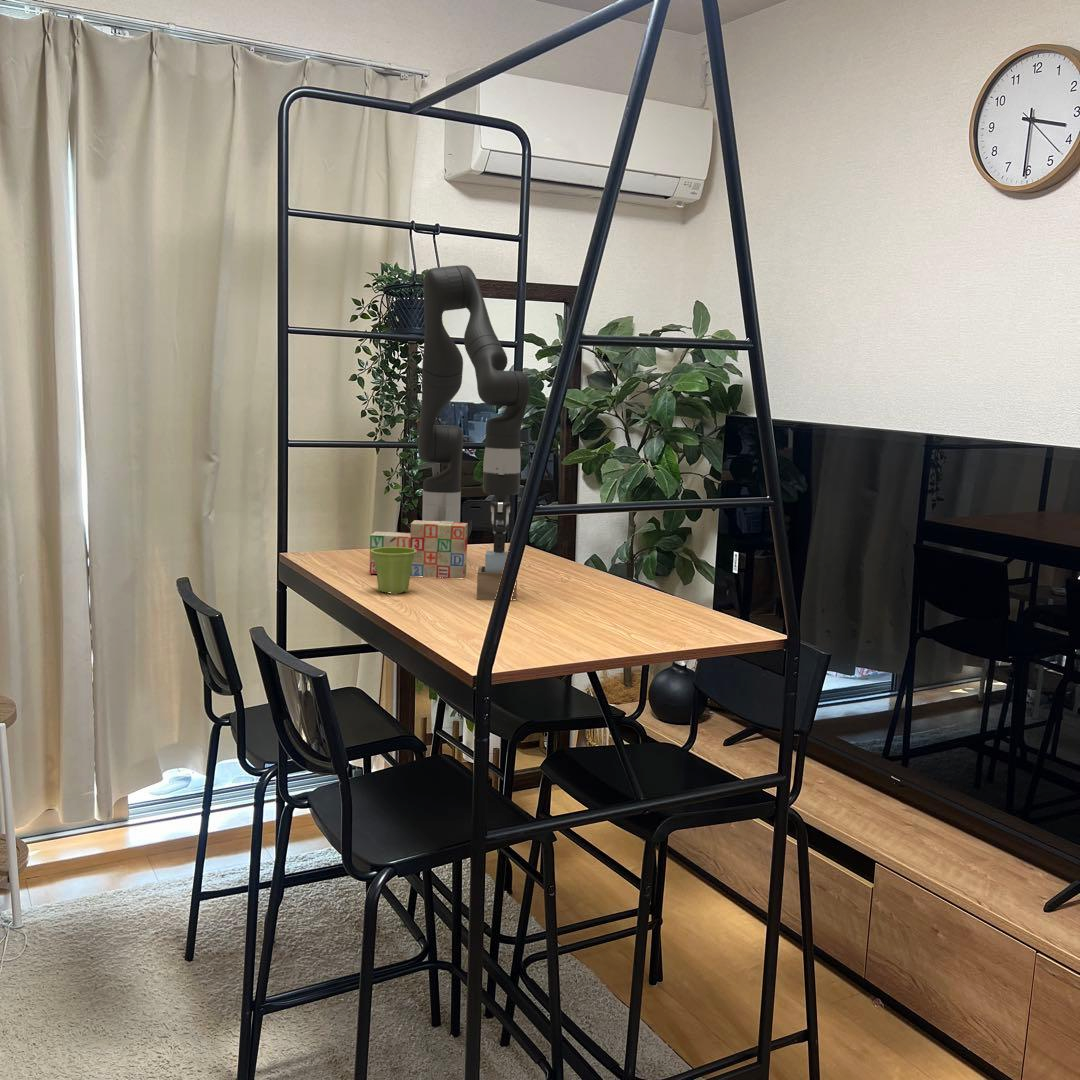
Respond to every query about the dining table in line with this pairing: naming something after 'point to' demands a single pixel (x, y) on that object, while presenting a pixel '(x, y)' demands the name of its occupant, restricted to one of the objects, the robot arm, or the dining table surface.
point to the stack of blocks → (429, 547)
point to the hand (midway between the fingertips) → (499, 549)
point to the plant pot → (393, 568)
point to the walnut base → (489, 584)
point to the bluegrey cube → (495, 561)
